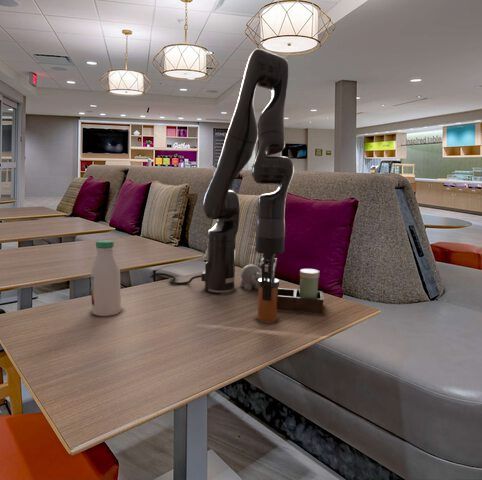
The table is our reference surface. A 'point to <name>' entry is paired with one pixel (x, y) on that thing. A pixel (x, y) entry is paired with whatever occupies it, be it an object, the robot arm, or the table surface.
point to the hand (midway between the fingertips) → (267, 296)
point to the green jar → (309, 283)
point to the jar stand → (299, 301)
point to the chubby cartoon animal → (250, 277)
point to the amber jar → (268, 302)
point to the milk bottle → (105, 281)
